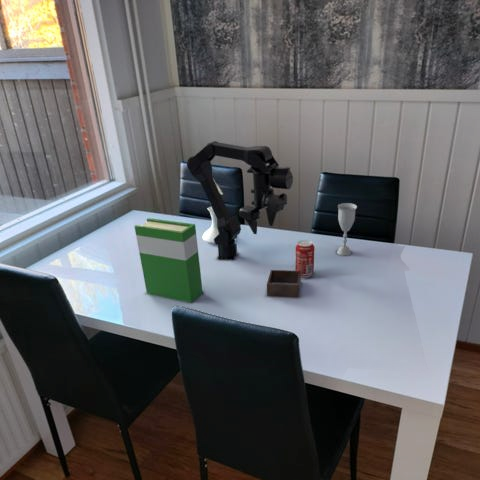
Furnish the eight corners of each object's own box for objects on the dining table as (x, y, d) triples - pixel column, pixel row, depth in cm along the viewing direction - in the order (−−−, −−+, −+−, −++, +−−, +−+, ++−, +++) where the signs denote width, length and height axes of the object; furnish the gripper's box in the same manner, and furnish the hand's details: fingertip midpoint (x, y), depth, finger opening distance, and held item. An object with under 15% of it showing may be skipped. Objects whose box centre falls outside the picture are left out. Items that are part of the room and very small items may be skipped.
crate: (267, 296, 152) (266, 283, 150) (271, 281, 161) (270, 269, 158) (298, 297, 150) (298, 285, 148) (300, 282, 159) (301, 270, 156)
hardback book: (146, 293, 158) (134, 226, 145) (159, 283, 164) (148, 218, 151) (191, 302, 151) (182, 232, 138) (202, 292, 157) (195, 224, 144)
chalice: (332, 249, 180) (335, 203, 170) (350, 248, 180) (353, 202, 171) (337, 257, 174) (340, 210, 164) (355, 255, 174) (359, 208, 164)
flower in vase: (229, 245, 189) (225, 183, 176) (201, 246, 190) (195, 184, 176) (230, 233, 200) (226, 174, 187) (204, 234, 201) (198, 175, 187)
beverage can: (310, 269, 166) (311, 238, 160) (315, 277, 161) (316, 245, 155) (293, 272, 166) (293, 240, 159) (298, 279, 160) (298, 247, 154)
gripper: (263, 197, 148) (264, 243, 156) (297, 182, 159) (297, 226, 168) (237, 192, 154) (239, 236, 162) (271, 178, 166) (272, 220, 174)
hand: (263, 229), depth 166 cm, fingers open, 9 cm apart
